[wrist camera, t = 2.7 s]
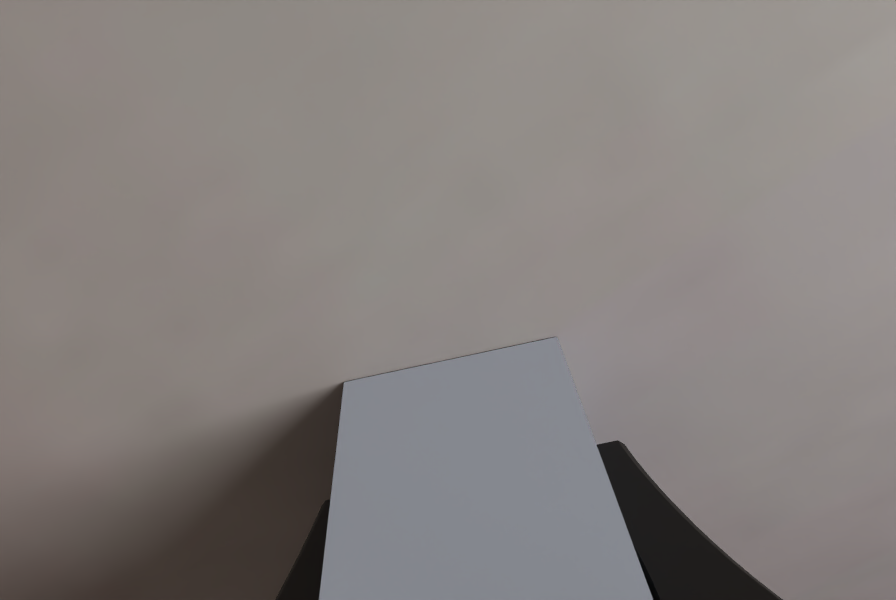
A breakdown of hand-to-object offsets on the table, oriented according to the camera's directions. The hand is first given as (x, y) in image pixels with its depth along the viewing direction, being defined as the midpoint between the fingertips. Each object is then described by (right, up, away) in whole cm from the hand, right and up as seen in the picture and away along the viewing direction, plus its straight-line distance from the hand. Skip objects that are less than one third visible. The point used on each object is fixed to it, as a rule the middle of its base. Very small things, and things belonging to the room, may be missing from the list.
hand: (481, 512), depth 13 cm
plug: (0, +1, +1) cm, 2 cm away
